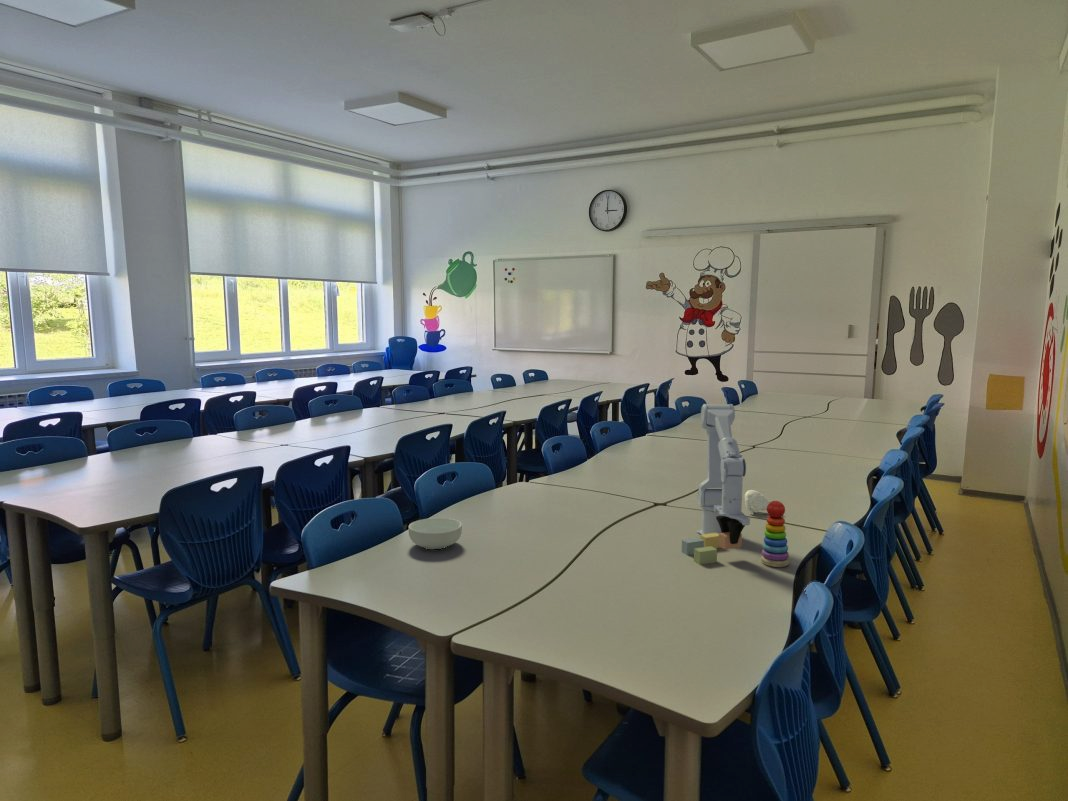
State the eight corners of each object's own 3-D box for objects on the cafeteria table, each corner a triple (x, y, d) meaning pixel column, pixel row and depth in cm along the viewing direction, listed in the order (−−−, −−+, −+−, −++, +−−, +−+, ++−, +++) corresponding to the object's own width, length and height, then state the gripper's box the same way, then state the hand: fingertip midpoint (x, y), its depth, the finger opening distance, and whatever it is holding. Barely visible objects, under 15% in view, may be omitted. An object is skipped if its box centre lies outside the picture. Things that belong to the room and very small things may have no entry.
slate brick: (698, 549, 207) (698, 537, 207) (703, 553, 205) (704, 540, 204) (681, 552, 205) (681, 539, 205) (687, 555, 202) (687, 542, 202)
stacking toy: (788, 560, 198) (791, 499, 196) (789, 569, 191) (792, 506, 188) (760, 557, 201) (763, 496, 198) (760, 566, 193) (763, 503, 191)
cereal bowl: (473, 545, 211) (472, 524, 211) (431, 559, 199) (431, 537, 198) (439, 534, 223) (438, 513, 222) (398, 546, 211) (397, 525, 210)
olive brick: (710, 559, 200) (711, 546, 199) (716, 562, 197) (717, 549, 196) (693, 561, 197) (694, 548, 197) (699, 565, 195) (699, 551, 194)
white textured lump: (745, 487, 248) (778, 492, 245) (742, 509, 250) (775, 514, 247) (745, 491, 242) (780, 496, 239) (742, 514, 243) (777, 519, 241)
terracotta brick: (735, 543, 201) (735, 531, 200) (741, 547, 198) (741, 534, 198) (718, 546, 199) (718, 533, 198) (724, 549, 196) (725, 536, 196)
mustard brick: (715, 544, 212) (716, 532, 211) (721, 547, 209) (721, 535, 209) (699, 547, 210) (700, 534, 209) (705, 550, 207) (705, 537, 207)
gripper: (706, 492, 202) (704, 535, 204) (736, 505, 188) (734, 551, 190) (725, 490, 204) (723, 532, 206) (756, 502, 191) (754, 548, 193)
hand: (730, 541), depth 198 cm, fingers closed on terracotta brick, 3 cm apart
